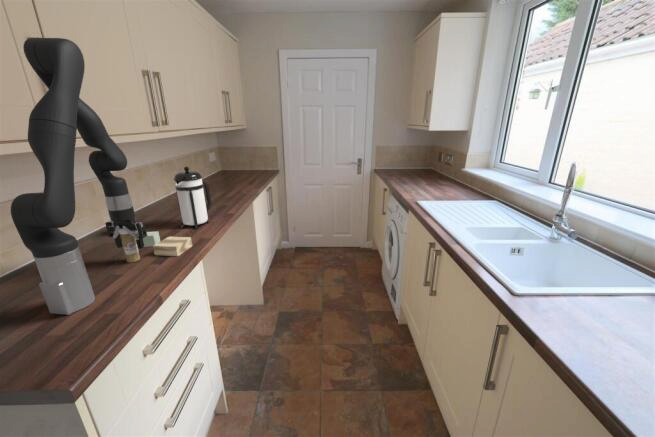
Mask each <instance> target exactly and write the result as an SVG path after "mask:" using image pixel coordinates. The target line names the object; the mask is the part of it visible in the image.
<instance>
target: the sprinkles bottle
mask: <svg viewBox="0 0 655 437" xmlns="http://www.w3.org/2000/svg"><path fill="white" fill-rule="evenodd" d="M133 232H135V230H134V231H133ZM119 234H120V236H121V240H122V245H123V247H122V248H123V252H124V255H125V259H126V262H127V263H135V262H138V261H139V260H140V259H141V256H140V252H139V249H138V247H137V243H136V239H135V238H134V237H133V236H131V235H130V234H129V233H128V232H127V231H126V230H124V229H119Z"/></svg>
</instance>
